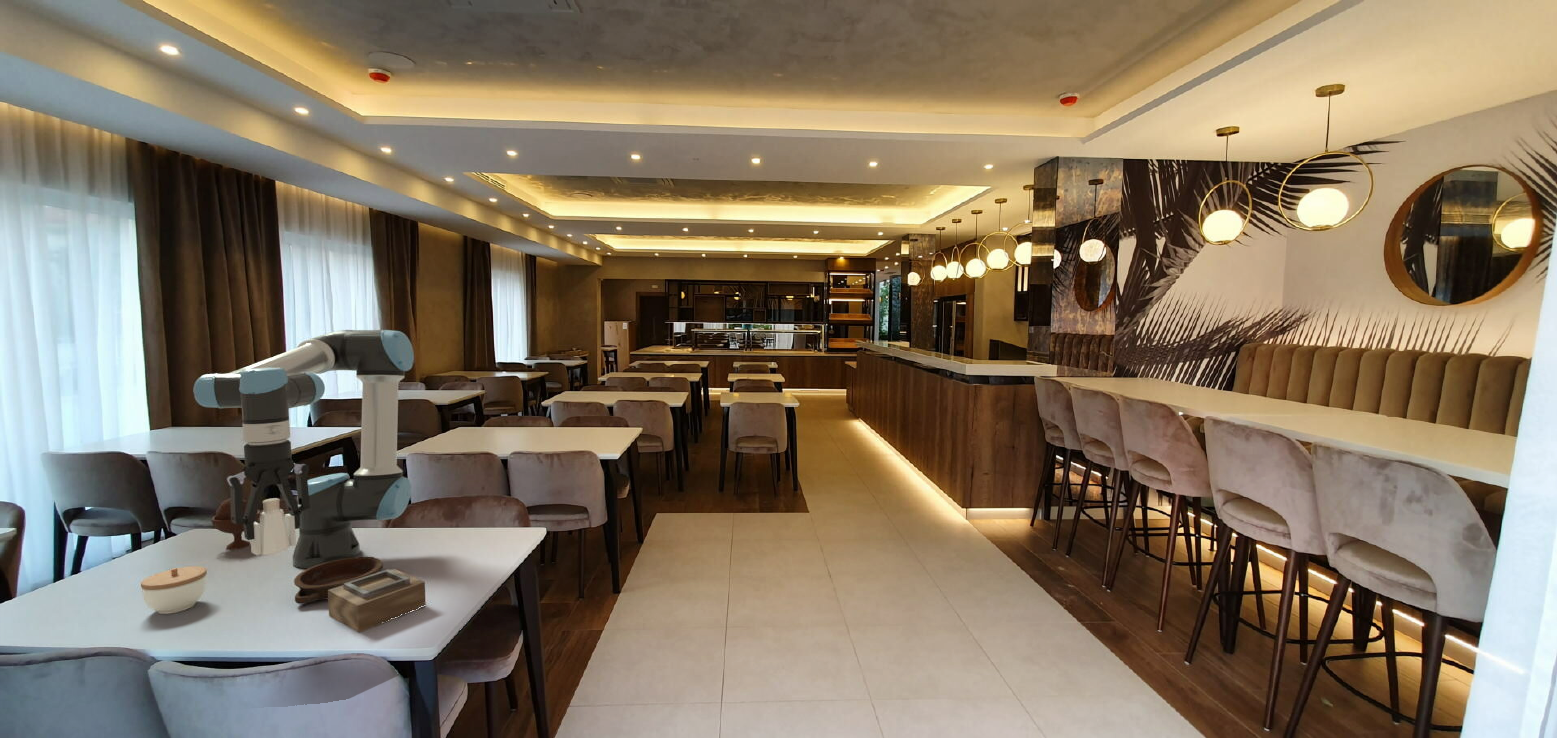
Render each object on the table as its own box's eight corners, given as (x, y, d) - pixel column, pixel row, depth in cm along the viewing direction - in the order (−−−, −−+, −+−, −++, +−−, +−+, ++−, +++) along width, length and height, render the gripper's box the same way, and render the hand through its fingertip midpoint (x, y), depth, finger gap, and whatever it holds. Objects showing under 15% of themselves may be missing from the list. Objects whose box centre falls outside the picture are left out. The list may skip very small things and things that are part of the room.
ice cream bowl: (268, 544, 178) (266, 495, 177) (219, 556, 169) (216, 504, 168) (255, 537, 184) (252, 489, 183) (207, 548, 175) (203, 498, 173)
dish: (266, 605, 140) (265, 585, 140) (351, 568, 162) (350, 550, 162) (327, 613, 137) (326, 592, 137) (405, 574, 158) (405, 555, 158)
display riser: (329, 615, 135) (327, 584, 135) (394, 592, 147) (393, 564, 147) (359, 632, 128) (357, 600, 128) (425, 606, 140) (424, 576, 139)
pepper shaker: (292, 549, 127) (289, 499, 126) (259, 557, 123) (255, 505, 122) (288, 543, 131) (285, 494, 130) (255, 550, 127) (252, 499, 126)
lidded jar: (150, 623, 131) (147, 582, 130) (137, 611, 137) (134, 571, 136) (215, 604, 140) (212, 565, 139) (200, 593, 146) (197, 556, 145)
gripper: (216, 451, 115) (224, 567, 117) (326, 436, 131) (331, 539, 133) (202, 446, 119) (210, 559, 121) (311, 432, 135) (316, 532, 137)
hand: (274, 548), depth 127 cm, fingers closed on pepper shaker, 5 cm apart
